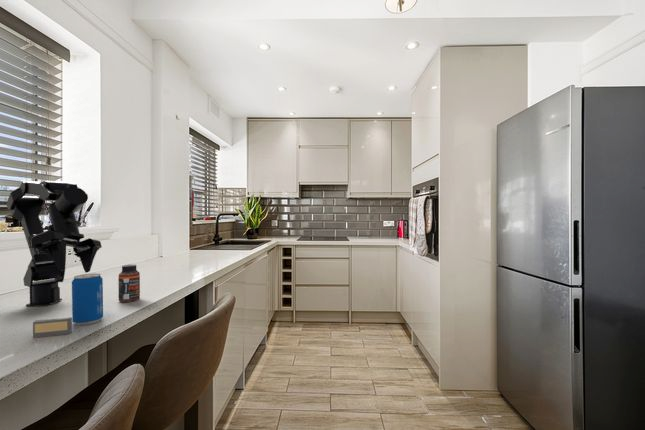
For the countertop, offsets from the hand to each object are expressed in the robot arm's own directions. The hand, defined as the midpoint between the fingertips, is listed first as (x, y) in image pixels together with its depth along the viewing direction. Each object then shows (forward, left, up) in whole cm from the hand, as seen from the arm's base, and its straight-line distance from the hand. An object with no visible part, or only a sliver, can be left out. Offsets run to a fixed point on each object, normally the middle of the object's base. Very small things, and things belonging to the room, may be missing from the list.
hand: (75, 271), depth 91 cm
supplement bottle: (+8, +13, -12) cm, 20 cm away
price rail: (+5, -16, -12) cm, 21 cm away
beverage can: (+7, -7, -12) cm, 16 cm away
